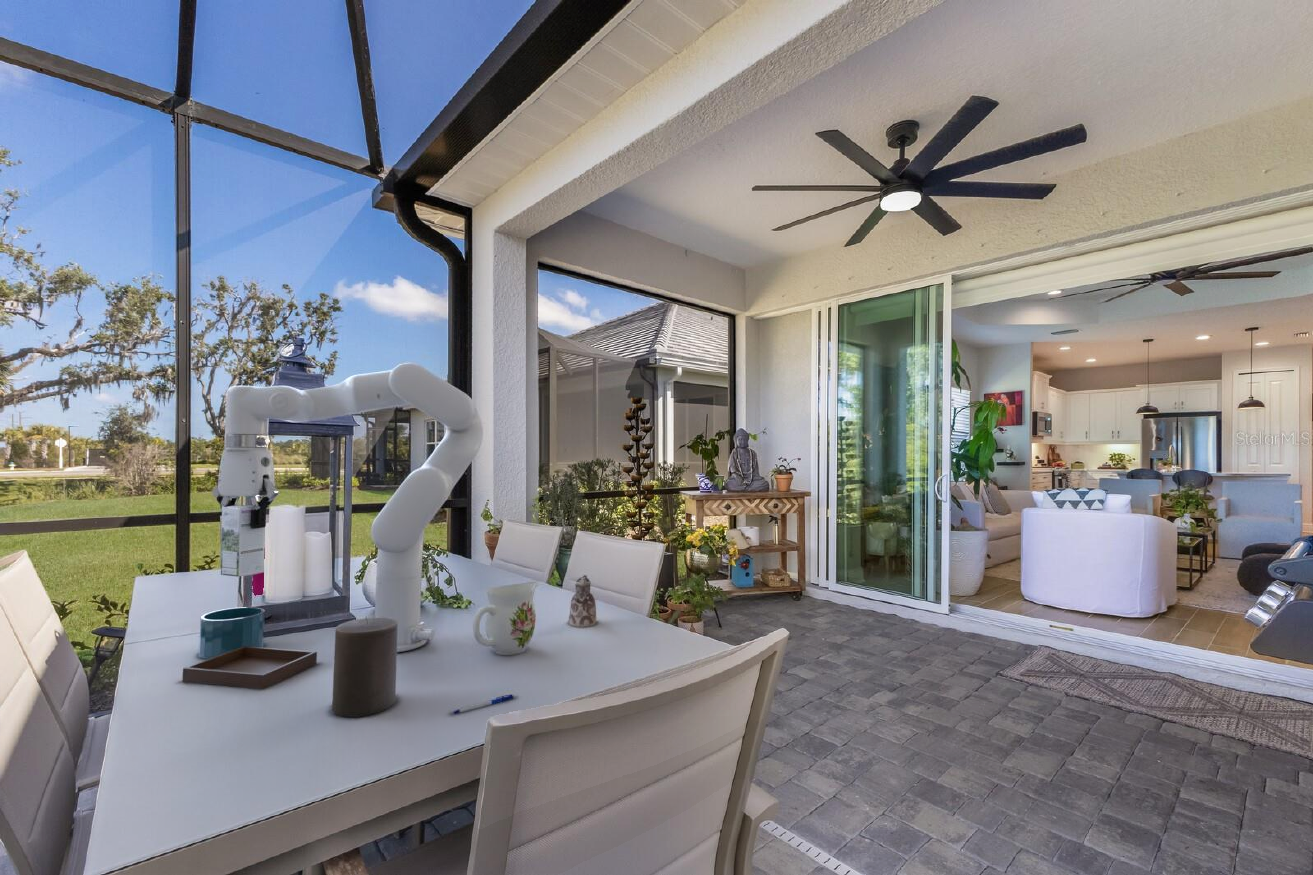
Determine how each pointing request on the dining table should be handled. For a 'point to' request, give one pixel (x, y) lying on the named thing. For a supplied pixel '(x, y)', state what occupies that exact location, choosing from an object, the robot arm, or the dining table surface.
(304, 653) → the tray
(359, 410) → the robot arm
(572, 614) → the figurine
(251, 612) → the cup
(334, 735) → the dining table surface
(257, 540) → the syrup box
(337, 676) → the pillar candle
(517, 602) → the pitcher
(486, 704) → the ballpoint pen
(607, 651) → the dining table surface
